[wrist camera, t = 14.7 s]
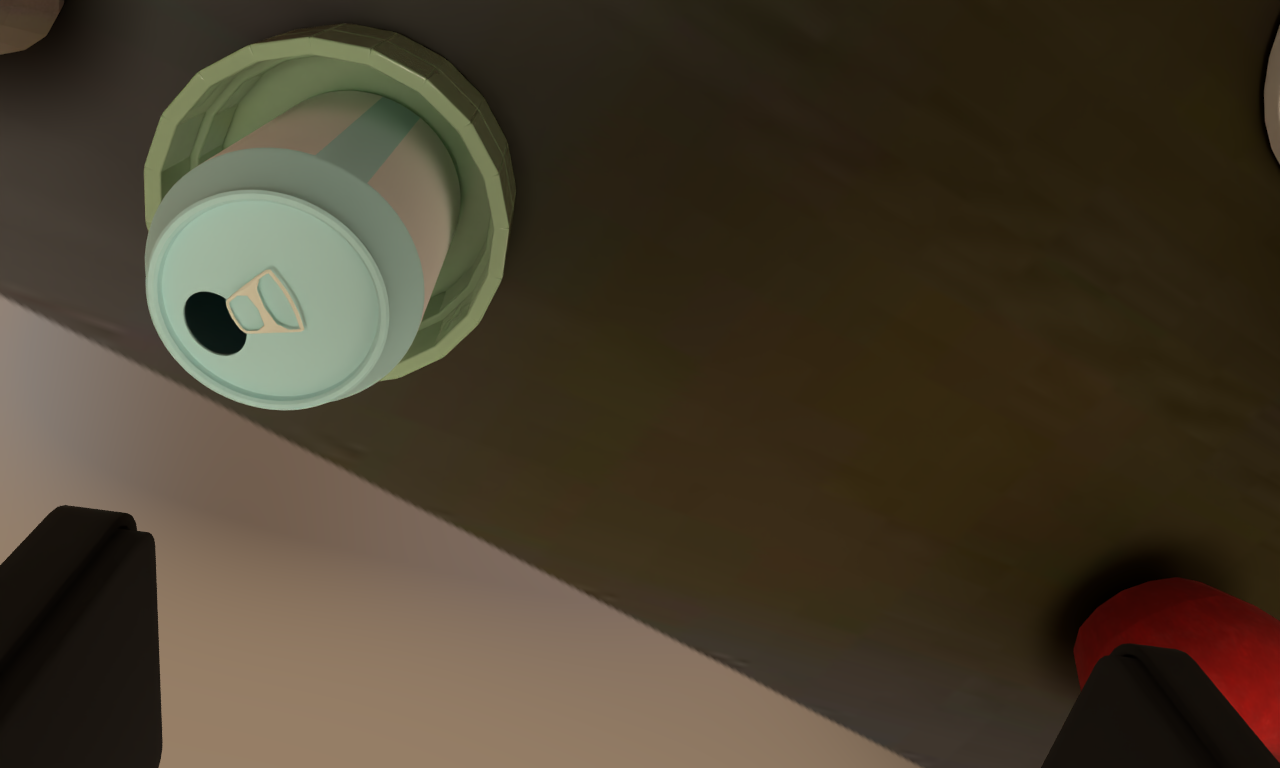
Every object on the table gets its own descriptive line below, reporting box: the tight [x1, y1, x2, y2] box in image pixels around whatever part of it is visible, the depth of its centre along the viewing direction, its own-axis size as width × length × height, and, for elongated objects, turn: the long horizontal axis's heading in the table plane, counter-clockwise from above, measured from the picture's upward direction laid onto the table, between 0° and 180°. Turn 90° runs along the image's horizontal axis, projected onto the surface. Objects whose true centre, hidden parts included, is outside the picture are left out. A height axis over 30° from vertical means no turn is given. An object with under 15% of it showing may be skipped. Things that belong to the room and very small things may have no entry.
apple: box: [1073, 577, 1280, 763], centre depth 41 cm, size 10×10×11 cm
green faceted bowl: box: [144, 23, 516, 381], centre depth 31 cm, size 11×11×6 cm
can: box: [145, 91, 461, 410], centre depth 28 cm, size 7×7×12 cm
